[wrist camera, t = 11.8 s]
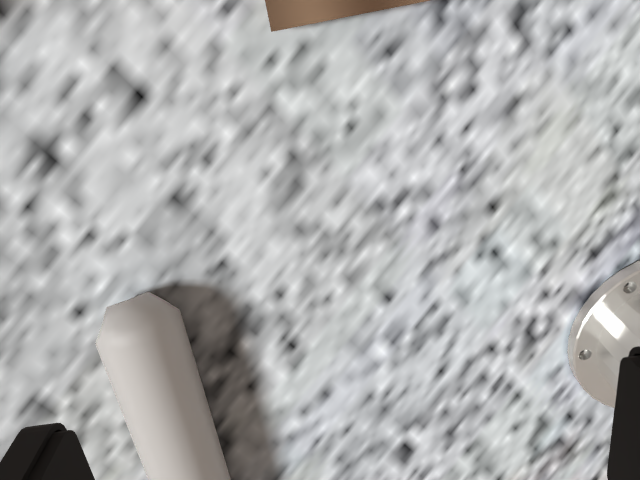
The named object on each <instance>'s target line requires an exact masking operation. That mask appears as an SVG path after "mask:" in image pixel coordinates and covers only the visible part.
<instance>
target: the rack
mask: <svg viewBox="0 0 640 480" xmlns="http://www.w3.org/2000/svg"><path fill="white" fill-rule="evenodd" d="M424 1H429V0H265V2H266V7H267V12H268V17H269V22H270V27H271V32H272V31H277V30H282V29H287V28H292V27H297V26H303V25H308V24H313V23H318V22H323V21H328V20H333V19H338V18H343V17H348V16H353V15H358V14H363V13H369V12H374V11H379V10H384V9H389V8H394V7H399V6H404V5H409V4H414V3H419V2H424Z"/></svg>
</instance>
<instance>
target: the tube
mask: <svg viewBox="0 0 640 480" xmlns="http://www.w3.org/2000/svg"><path fill="white" fill-rule="evenodd" d="M95 344H96V346H97V349H98V352H99V354H100V357H101V359H102V362H103V364H104V367H105V370H106V372H107V375H108V377H109V380H110V383H111V385H112V388H113V390H114V393H115V395H116V398H117V401H118V403H119V406H120V408H121V411H122V413H123V416H124V419H125V421H126V424H127V426H128V429H129V431H130V434H131V437H132V439H133V442H134V444H135V447H136V450H137V452H138V455H139V457H140V460H141V462H142V465H143V468H144V470H145V473H146V475H147V478H148V480H231V479H230V475H229V472H228V469H227V465H226V462H225V459H224V455H223V452H222V449H221V445H220V442H219V439H218V435H217V432H216V429H215V425H214V422H213V419H212V415H211V412H210V409H209V405H208V402H207V399H206V395H205V392H204V389H203V385H202V382H201V379H200V375H199V372H198V369H197V365H196V362H195V359H194V355H193V352H192V349H191V345H190V342H189V339H188V335H187V332H186V329H185V325H184V322H183V319H182V315H181V312H180V310H179V309H178V308H176V307H175V306H173V305H171V304H170V303H168V302H167V301H165V300H163V299H161V298H160V297H158V296H156V295H154V294H152V293H150V292H146V293H144V294H141V295H139V296H136V297H134V298H131V299H129V300H126V301H123V302H120V303H118V304H115V305H112V306H109V307H107V308H106V311H105V315H104V319H103V322H102V326H101V329H100V332H99V334H98V337H97V340H96V343H95Z"/></svg>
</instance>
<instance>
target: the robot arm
mask: <svg viewBox="0 0 640 480" xmlns="http://www.w3.org/2000/svg"><path fill="white" fill-rule="evenodd" d="M567 353H568V359H569V365H570V368H571V370H572V372H573V374H574V377H575V378H576V379H577V381H578V382H579V383H580V385H581V386H582V388H583V389H584V390H585V391H586V392H587V393H588V394H589V395H590V396H591V397H592V398H594V399H595V400H597V401H599V402H601V403H602V404H604V405H607V406H610V407H613V408H615V410H614V418H613V427H612V435H611V444H610V452H609V461H608V470H607V477H608V480H640V261H637V262H636V263H634V264H632V265H630V266H628V267H626V268H624V269H622V270H620V271H619V272H618V273H616V274H615V275H613V276H612V277H611V278H609V279H608V280H607V281H605V282H604V283H603V284H602V285H601V286H600V287H599V288H598V289H597V290H596V291H595V292H594V293H593V294H592V295H591V296H590V297H589V299H588V300H587V301H586V303H585V304H584V305H583V306H582V308H581V309H580V311H579V313H578V315H577V317H576V319H575V321H574V323H573V325H572V328H571V332H570V335H569V338H568V351H567ZM0 480H95V479H94V476H93V474H92V472H91V469H90V467H89V464H88V462H87V459H86V457H85V455H84V452H83V450H82V447H81V445H80V443H79V440H78V438H77V435H76V434H75V432H74V431H72V430H66V428H65V426H64V425H62V424H61V423H53V424H46V425H38V426H31V427H25V428H24V429H22V430H21V431H20V432H19V433H18V435H17V436H16V438H15V440H14V441H13V443H12V444H11V446H10V448H9V449H8V451H7V452H6V454H5V456H4V457H3V459H2V460H1V462H0Z"/></svg>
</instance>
